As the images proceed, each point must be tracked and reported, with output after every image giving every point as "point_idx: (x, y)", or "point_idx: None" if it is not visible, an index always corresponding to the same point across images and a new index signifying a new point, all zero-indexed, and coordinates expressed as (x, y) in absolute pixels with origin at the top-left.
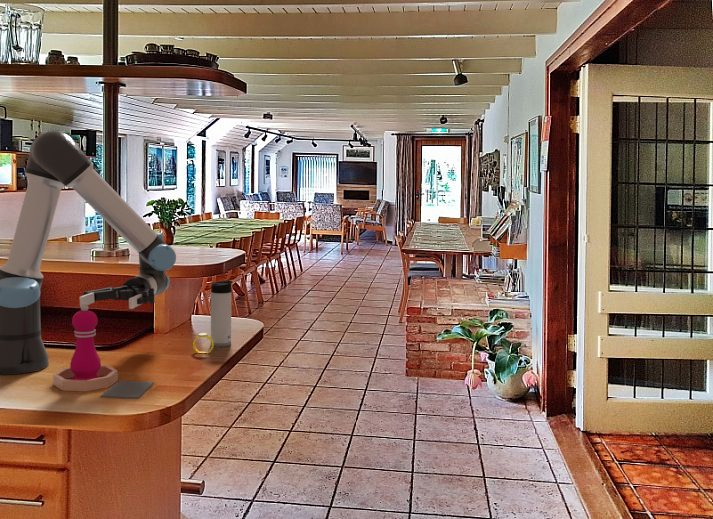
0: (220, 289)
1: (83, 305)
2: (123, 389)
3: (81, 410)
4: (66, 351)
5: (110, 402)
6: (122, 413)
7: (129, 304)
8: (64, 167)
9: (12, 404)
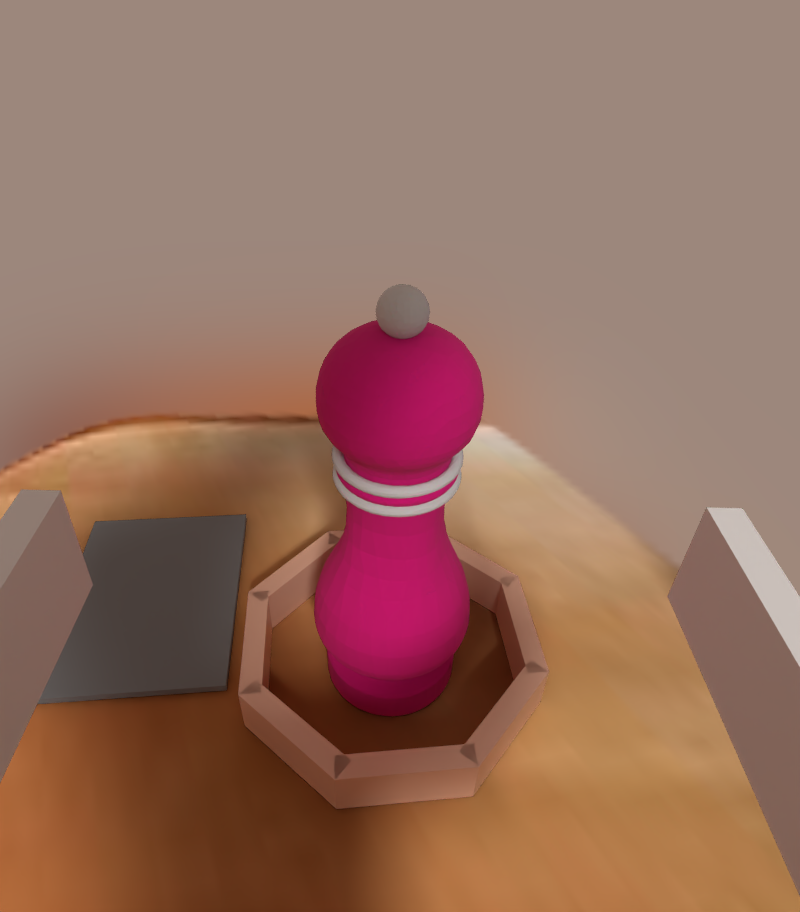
0: None
1: (404, 285)
2: (171, 582)
3: (266, 433)
4: None
5: (195, 489)
6: (134, 431)
7: (72, 548)
8: None
9: (495, 442)
